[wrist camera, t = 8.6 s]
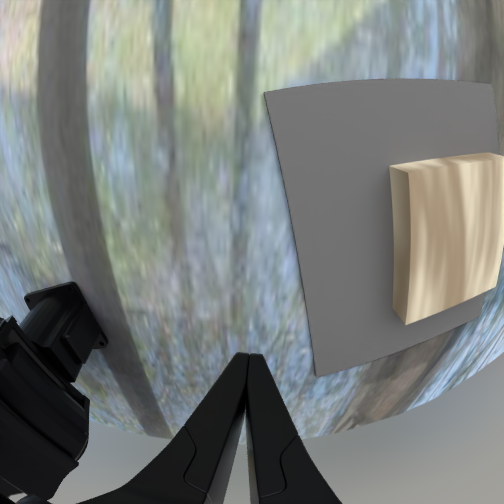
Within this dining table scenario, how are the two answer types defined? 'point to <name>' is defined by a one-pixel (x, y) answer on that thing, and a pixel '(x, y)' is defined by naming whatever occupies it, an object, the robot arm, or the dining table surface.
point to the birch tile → (446, 231)
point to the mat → (367, 200)
